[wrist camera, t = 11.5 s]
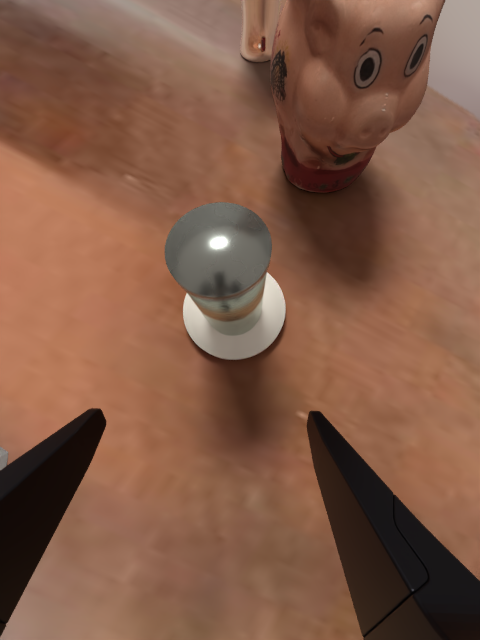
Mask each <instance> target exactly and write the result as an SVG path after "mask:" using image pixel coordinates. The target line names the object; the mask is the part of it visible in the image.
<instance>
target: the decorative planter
mask: <svg viewBox="0 0 480 640" xmlns="http://www.w3.org/2000/svg"><path fill="white" fill-rule="evenodd" d="M444 3H445V0H287V1H286V3H285V5H284V7H283V9H282V12H281V14H280V17H279V20H278V23H277V27H276V30H275V35H274V40H273V46H272V53H271V65H270V84H271V91H272V95H273V99H274V102H275V105H276V112H277V117H278V122H279V128H280V134H281V140H282V152H281V160H282V165H283V168H284V170H285V173H286V177H287V179H288V180H289V181H290V182H291V183H293V184H294V185H295V186H297V187H299V188H301V189H303V190H307V191H310V192H332V191H336V190H340V189H342V188H345V187H347V186H348V185H350V184H351V183H352V182H353V181H355V180H356V178H357V177H358V176H359V175H360V174H361V172H362V171H363V170H364V169H365V167H366V166H367V164H368V163H369V161H370V159H371V157H372V155H373V153H374V151H375V149H376V146H377V145H379V144H380V143H381V142H382V141H383V140H384V139H385V138H386V137H387V136H388V135H389V133H391V132H393V131H396V130H398V129H400V128H401V127H403V126H404V125H405V124H406V123H407V122H408V121H409V120H410V119H411V117H412V116H413V115H414V114H415V112H416V110H417V109H418V107H419V105H420V104H421V102H422V99H423V97H424V94H425V91H426V87H427V81H428V74H429V62H430V49H431V43H432V39H433V35H434V31H435V28H436V24H437V21H438V18H439V16H440V13H441V9H442V7H443V5H444Z"/></svg>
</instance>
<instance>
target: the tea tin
mask: <svg viewBox="0 0 480 640" xmlns="http://www.w3.org/2000/svg"><path fill="white" fill-rule="evenodd" d="M271 250H272V243H271V237H270V233H269V231H268V228H267V226H266V225H265V223H264V222H263V221H262V219H261V218H260V217H259V216H258V215H257V214H255V213H254V212H253V211H251V210H249V209H247V208H245V207H243V206H240V205H237V204H233V203H223V202H220V203H211V204H206V205H202V206H200V207H197V208H195V209H193V210H191V211H189V212H188V213H186V214H185V215H184V216H183V217H181V218H180V219H179V220H178V221H177V222H176V223H175V225H174V226H173V228H172V229H171V231H170V233H169V235H168V237H167V240H166V245H165V260H166V264H167V267H168V269H169V271H170V273H171V274H172V276H173V277H174V279H175V280H176V281H177V283H178V284H179V285H180V286H181V287H182V288H183V289H184V290H185V291H186V292H187V293H188V295H189V296H190V298H191V299H192V300H193V302H194V303H195V305H196V306H197V307H198V309H199V310H200V311H201V313H202V314H203V316H204V317H205V318H206V320H207V321H208V323H209V324H210V325H211V327H212V328H213V329H215V330H216V331H217V332H219V333H221V334H224V335H228V336H237V335H241V334H244V333H246V332H248V331H250V330H251V329H252V328H253V327H254V326H255V325H256V324H257V322H258V320H259V318H260V315H261V310H262V303H263V295H264V288H265V281H266V273H267V270H268V267H269V263H270V258H271Z"/></svg>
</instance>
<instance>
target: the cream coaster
mask: <svg viewBox="0 0 480 640" xmlns="http://www.w3.org/2000/svg"><path fill="white" fill-rule="evenodd" d="M183 317H184V323H185V326H186V329H187V331H188V333H189V335H190V337H191V338H192V340H193V341H194V342H195V343H196V344H197V345H198V346H199V347H200V348H201V349H203V350H204V351H206V352H207V353H209V354H211V355H213V356H215V357H218V358H221V359H227V360H240V359H246V358H250V357H252V356H255V355H257V354H259V353H261V352H262V351H264V350H265V349H266V348H268V347H269V346H270V345H271V344H272V343H273V341H274V340H275V339H276V337H277V336H278V334H279V332H280V330H281V328H282V326H283V323H284V319H285V300H284V296H283V293H282V291H281V289H280V287H279V285H278V284H277V282H276V281H275V280H274V278H273V277H272V276H271V275H269V274H268V273H266V281H265V288H264V295H263V303H262V310H261V315H260V318H259V320H258V322H257V324H256V325H255V326H254V327H253V328H252V329H251V330H250V331H248V332H246V333H244V334H241V335H237V336H228V335H224V334H221V333H219V332H217V331H216V330H215V329H213V328H212V327H211V325H210V324H209V323H208V321H207V320H206V318H205V317H204V316H203V314H202V313H201V311H200V310H199V309H198V307H197V306H196V305H195V303H194V302H193V300H192V299H191V298H190V296H189V295H188V293H187V294H186V297H185V301H184V306H183Z"/></svg>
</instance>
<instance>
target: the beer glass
mask: <svg viewBox="0 0 480 640" xmlns="http://www.w3.org/2000/svg"><path fill="white" fill-rule="evenodd" d="M241 5H242V34H241V45H240V52H241V55H242V56H243V57H244V58H245V59H246V60H248V61H252V62H265V61H269V60H271V53H272V46H273V40H274V35H275V30H276V27H277V23H278V20H279V17H280V7H281V0H241Z"/></svg>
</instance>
